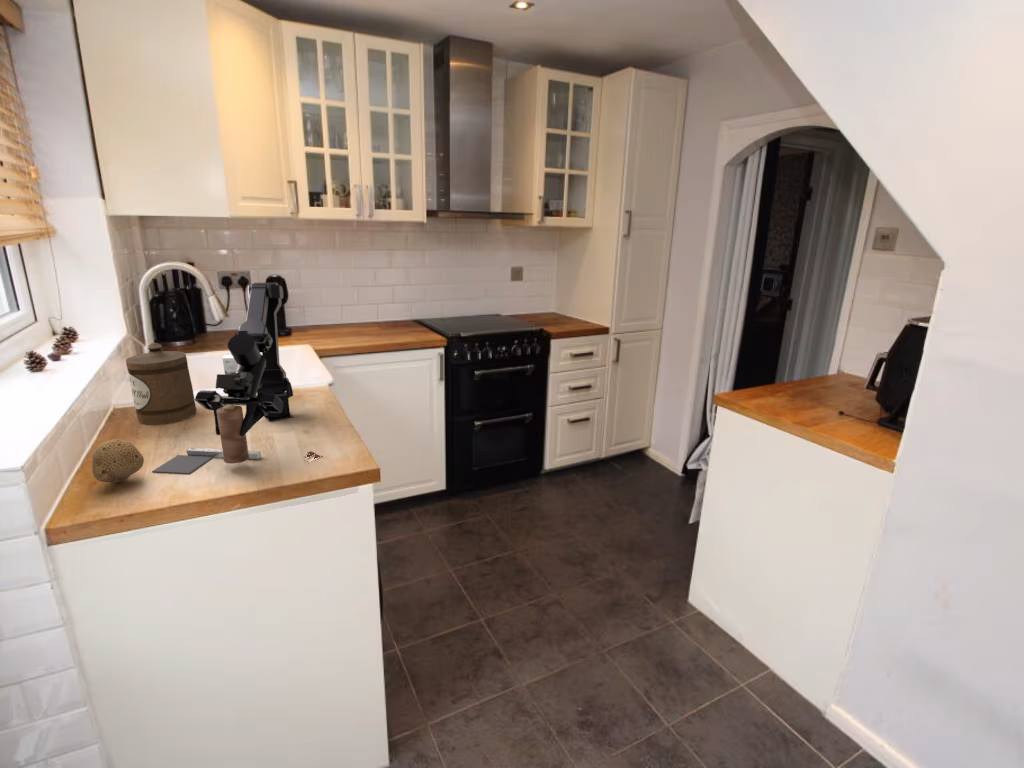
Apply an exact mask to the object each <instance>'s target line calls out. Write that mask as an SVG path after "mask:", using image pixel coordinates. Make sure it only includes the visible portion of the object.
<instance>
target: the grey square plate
mask: <svg viewBox="0 0 1024 768" xmlns="http://www.w3.org/2000/svg"><path fill="white" fill-rule="evenodd" d="M213 458H214V457H211V456H190V455H187V454H186V455H185V454H177V455H176V456H175V457H172V458H171V459H168V460H167V461H166V462H165V463H163V464H161V465H160V466H158V467H156V468H155V469H153V470H152V471H151V473H156V474H157V473H158V474H159V473H160V474H174V475H175V474H177V475H178V474H179V475H191V474H192V473H193V472H195V471H196V470H198V469H199V468H200V467H202V466H204V465H205V464H206V463H208V462H209V461H210V460H212V459H213ZM207 461H208V462H207ZM203 464H204V465H203ZM190 473H191V474H190Z"/></svg>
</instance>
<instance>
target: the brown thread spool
mask: <svg viewBox="0 0 1024 768" xmlns="http://www.w3.org/2000/svg"><path fill="white" fill-rule="evenodd" d="M217 418H218V424H219V430H220V435H219V436H220V442H221V448H222V449H223V455H224V458H223V462H224V463H226V464H228V465H229V464H230V465H231V464H239V463H243V462H245V461H247V460H249V459H248V458H249V453H248V451H249V448H248V447H249V446H248V440H247V433H246V434H245V435H244V436H241V435H240V429H241V426H242V423H243V420H244V414H243V407H242V405H227V406H224V407H222V408H219V409H217Z"/></svg>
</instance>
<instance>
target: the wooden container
mask: <svg viewBox="0 0 1024 768" xmlns="http://www.w3.org/2000/svg"><path fill="white" fill-rule="evenodd" d="M147 348H148V350H149V351H148V352H145V353H140V354H136V355H133V356H130V357H127V358H126V359H125V364H126V369H127V372H128V377H129V383H130V388H131V394H132V399H133V403H134V408H135V413H136V418H137V421H138V423H140V424H143V425H150V426H151V425H153V426H155V425H156V426H157V425H168V424H174V423H178V422H182V421H185V420H187V419H191V417H193V416H194V415H196V413H197V408H196V407H197V405H196V401H195V394H194V389H193V384H192V383H193V382H192V379H191V375H190V374H191V373H190V369H189V365H188V358H187V355H186V353H185V352H183V351H178V350H177V351H175V350H172V351H171V350H169V351H167V350H166V351H163V350H162V348H163V347H162V344H161V343H157V342H152V343H150V344H149V345H148V346H147Z"/></svg>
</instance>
